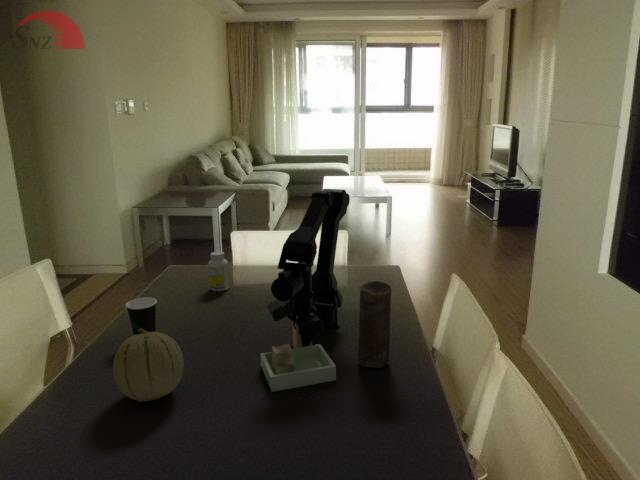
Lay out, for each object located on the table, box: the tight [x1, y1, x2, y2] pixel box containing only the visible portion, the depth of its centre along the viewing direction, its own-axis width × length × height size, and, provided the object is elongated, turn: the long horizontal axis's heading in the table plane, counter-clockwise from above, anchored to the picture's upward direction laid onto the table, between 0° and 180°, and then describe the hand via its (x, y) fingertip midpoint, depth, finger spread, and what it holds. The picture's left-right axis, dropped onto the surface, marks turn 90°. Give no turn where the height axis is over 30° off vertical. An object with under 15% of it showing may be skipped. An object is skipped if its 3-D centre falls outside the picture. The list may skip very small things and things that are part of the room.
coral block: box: [292, 324, 313, 348], centre depth 133 cm, size 4×4×6 cm
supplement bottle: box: [208, 251, 231, 292], centre depth 178 cm, size 7×7×13 cm
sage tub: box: [260, 343, 337, 393], centre depth 121 cm, size 15×12×4 cm
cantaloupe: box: [112, 329, 185, 403], centre depth 111 cm, size 15×15×15 cm
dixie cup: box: [125, 296, 158, 336], centre depth 139 cm, size 8×8×11 cm
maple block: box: [271, 343, 294, 375], centre depth 119 cm, size 4×4×6 cm
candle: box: [357, 280, 392, 370], centre depth 122 cm, size 8×7×20 cm
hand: (302, 344), depth 133 cm, fingers open, 5 cm apart
